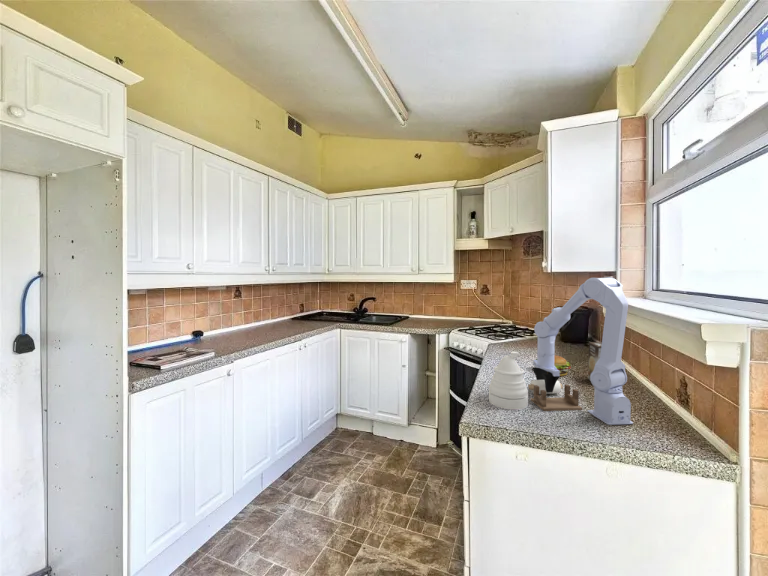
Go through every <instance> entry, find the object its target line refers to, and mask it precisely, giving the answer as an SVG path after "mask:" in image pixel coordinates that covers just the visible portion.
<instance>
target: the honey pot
mask: <svg viewBox="0 0 768 576" xmlns="http://www.w3.org/2000/svg"><path fill="white" fill-rule="evenodd" d="M518 356H519V352H518V351H510V354H509V355H505V356H503V357H502V358H501V360H500V361H499V363H498V364H497V365H496V366H495V367H493V370H494V373H493V375H492V376H491V378H492V379H491V380H490V384H489V385H488V387H489V388H488V402H489V403H490V404H492V405H493V406H494V405H495V406H494V407H497V408H500V407H501V408H500V409H503V408H504V409H505V410H509V409H510V410H511V411H514V410H515V411H517V410H524V409H526V408H527V407H528V405H529V388H528V386H527V384H526V379H525V378H524V374H525V369H523V368H522V367H520V366H519V364H518V362H517V361H516V358H518ZM510 410H509V411H510Z"/></svg>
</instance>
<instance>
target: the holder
mask: <svg viewBox="0 0 768 576" xmlns="http://www.w3.org/2000/svg"><path fill="white" fill-rule="evenodd" d="M563 388H564V392H563V393H564V394H563V395H564V397H562V396H561V397H559V396H558V397H547V394H546V391H545V390H541V391H540V394H539V386H537V385H534V393H533V397H530V400H529V401H530V402H532V404H534V405H536V406H537V408H540V409H541V410H542V411H543V412H555V411H556V412H559V411H560V412H566V411H583V407H582V406H581V405H579V404H580V403H579V400H580V399H579V398H580V396H579V395H580V394H579V393H580V390H578V389H576V388H572V390H571V385H569V384H564V387H563ZM571 391H572V394H571Z"/></svg>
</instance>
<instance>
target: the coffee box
mask: <svg viewBox="0 0 768 576" xmlns="http://www.w3.org/2000/svg"><path fill="white" fill-rule="evenodd" d="M601 346H602V341H600V342H598V341H597V342H596V341H595V342H594V341H590V342H588V363H587V364H588V369H587V379H588V381H590V382H591V380H590V375H591V373H592V372H593V370H594V367H595V364H596V363H597V361H598V360H599V359H600V354H601Z"/></svg>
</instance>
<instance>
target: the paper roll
mask: <svg viewBox="0 0 768 576" xmlns="http://www.w3.org/2000/svg"><path fill="white" fill-rule="evenodd" d="M534 385H537V386H539V395H540V391H541V390H545V391H546V388H545V380H537V379H532V380H531V381H530V383H529V384H528V385H527V389H528V391H529V390H530V391H531V392H532V393H533V394H534ZM563 388H564V387H563V384H562V383H560V381H559V379H558V380H557V381H556V384H555V386H554V389H553V392H549V393H547V392H546V395H548V394H550V395H551V394H560V393H561V391H562V389H563Z"/></svg>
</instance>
